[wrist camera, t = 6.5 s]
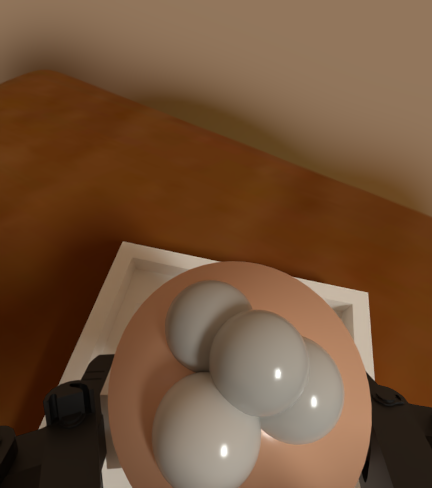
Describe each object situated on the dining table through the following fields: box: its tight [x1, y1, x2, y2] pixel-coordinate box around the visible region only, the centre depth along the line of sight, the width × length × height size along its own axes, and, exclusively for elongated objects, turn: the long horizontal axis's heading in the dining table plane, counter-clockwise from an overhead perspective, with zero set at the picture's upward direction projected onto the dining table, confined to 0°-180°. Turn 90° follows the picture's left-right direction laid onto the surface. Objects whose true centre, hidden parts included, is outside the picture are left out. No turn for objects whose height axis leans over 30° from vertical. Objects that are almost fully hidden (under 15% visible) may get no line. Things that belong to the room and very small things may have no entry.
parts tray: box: [39, 242, 375, 488], centre depth 16 cm, size 16×16×2 cm
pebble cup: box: [108, 261, 372, 488], centre depth 11 cm, size 6×6×12 cm
